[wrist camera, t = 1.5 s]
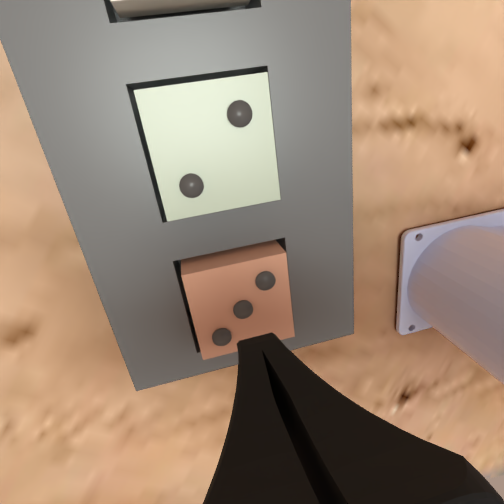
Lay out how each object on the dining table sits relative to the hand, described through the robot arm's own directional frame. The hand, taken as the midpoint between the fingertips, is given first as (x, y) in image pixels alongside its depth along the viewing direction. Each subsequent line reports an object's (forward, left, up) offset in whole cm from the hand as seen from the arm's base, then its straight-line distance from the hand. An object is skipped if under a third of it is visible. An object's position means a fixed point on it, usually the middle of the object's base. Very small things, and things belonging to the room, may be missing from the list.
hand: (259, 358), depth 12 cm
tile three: (0, 0, -5) cm, 5 cm away
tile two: (0, -7, -5) cm, 9 cm away
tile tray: (0, -7, -8) cm, 11 cm away
